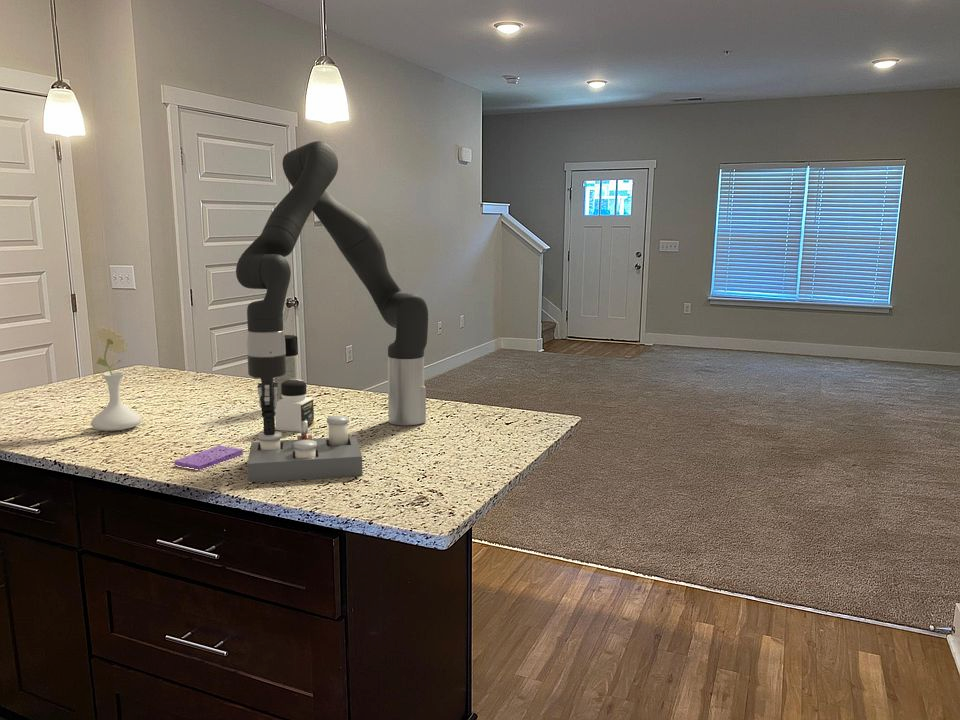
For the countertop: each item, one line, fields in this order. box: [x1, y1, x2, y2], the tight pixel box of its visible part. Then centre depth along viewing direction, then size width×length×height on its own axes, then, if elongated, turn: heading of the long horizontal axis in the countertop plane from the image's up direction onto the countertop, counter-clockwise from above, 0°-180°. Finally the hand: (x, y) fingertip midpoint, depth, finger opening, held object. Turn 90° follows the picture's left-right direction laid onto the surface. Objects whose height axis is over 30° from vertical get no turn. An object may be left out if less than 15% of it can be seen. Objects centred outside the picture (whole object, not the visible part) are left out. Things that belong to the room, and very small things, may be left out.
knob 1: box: [258, 430, 282, 450], centre depth 152 cm, size 5×5×6 cm
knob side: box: [293, 440, 317, 458], centre depth 147 cm, size 5×5×6 cm
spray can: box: [274, 334, 300, 401], centre depth 200 cm, size 7×7×20 cm
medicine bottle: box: [275, 379, 315, 433], centre depth 180 cm, size 7×7×12 cm
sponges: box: [174, 444, 244, 470], centre depth 155 cm, size 7×13×2 cm, turn 154°
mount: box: [246, 435, 363, 483], centre depth 150 cm, size 22×15×4 cm
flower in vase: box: [90, 326, 143, 432], centre depth 177 cm, size 13×11×25 cm
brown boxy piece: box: [296, 421, 313, 441], centre depth 153 cm, size 3×3×5 cm
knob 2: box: [326, 415, 350, 446], centre depth 155 cm, size 5×5×6 cm
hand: (269, 434), depth 151 cm, fingers closed
